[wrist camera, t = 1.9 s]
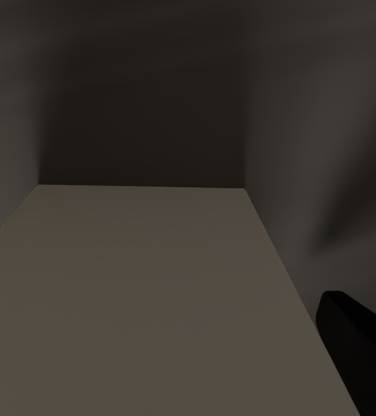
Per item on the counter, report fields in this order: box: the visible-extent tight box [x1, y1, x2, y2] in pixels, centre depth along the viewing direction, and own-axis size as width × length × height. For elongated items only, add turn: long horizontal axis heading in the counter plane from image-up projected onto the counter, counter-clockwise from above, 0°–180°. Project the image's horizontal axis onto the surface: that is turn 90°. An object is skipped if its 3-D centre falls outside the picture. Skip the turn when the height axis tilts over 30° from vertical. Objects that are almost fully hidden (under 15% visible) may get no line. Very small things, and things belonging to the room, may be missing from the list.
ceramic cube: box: [0, 185, 360, 416], centre depth 6 cm, size 5×5×6 cm
